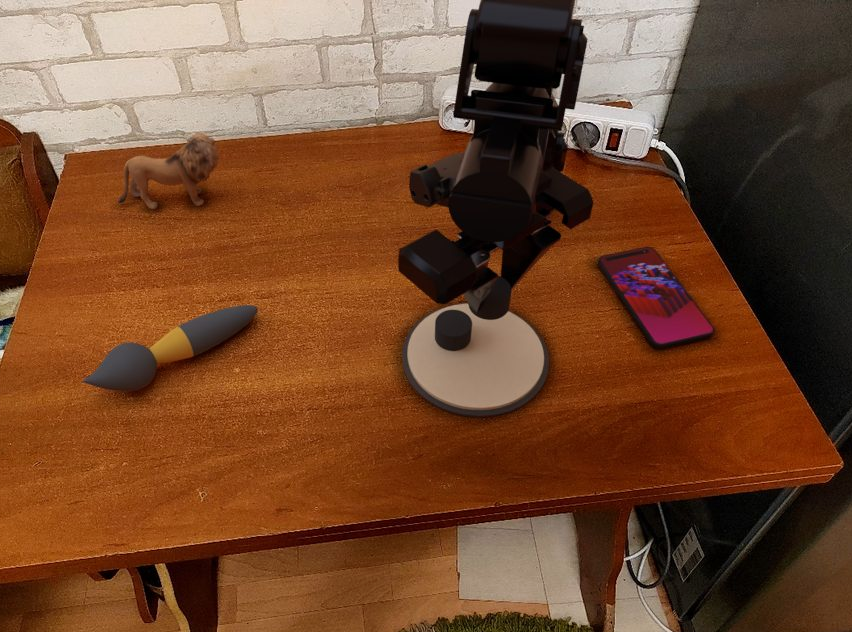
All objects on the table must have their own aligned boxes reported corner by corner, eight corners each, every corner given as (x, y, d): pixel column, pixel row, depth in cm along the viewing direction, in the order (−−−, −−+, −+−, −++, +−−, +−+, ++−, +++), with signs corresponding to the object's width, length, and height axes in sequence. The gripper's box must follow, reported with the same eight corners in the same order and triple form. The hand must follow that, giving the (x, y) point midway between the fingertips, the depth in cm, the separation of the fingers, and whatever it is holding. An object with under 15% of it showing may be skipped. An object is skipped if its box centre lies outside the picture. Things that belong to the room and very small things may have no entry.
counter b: (489, 285, 69) (491, 268, 68) (517, 307, 67) (520, 290, 66) (460, 303, 68) (461, 286, 66) (487, 326, 66) (490, 309, 64)
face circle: (478, 285, 82) (479, 279, 82) (579, 365, 74) (581, 359, 73) (372, 349, 76) (372, 344, 75) (470, 444, 68) (471, 439, 67)
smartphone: (655, 346, 74) (595, 256, 84) (653, 352, 75) (593, 261, 84) (719, 332, 76) (652, 244, 85) (716, 337, 76) (650, 250, 86)
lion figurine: (227, 180, 96) (213, 123, 90) (229, 203, 93) (214, 145, 86) (119, 195, 95) (97, 137, 88) (118, 219, 91) (94, 161, 84)
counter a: (454, 318, 78) (455, 304, 76) (478, 339, 75) (479, 324, 74) (427, 335, 76) (427, 320, 74) (451, 357, 74) (452, 342, 72)
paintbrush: (240, 299, 81) (232, 268, 77) (265, 321, 79) (258, 290, 75) (86, 392, 73) (68, 362, 69) (109, 420, 70) (91, 391, 66)
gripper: (518, 84, 63) (501, 219, 75) (354, 159, 55) (364, 296, 67) (613, 136, 57) (579, 274, 69) (444, 227, 50) (438, 364, 61)
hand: (490, 298), depth 67 cm, fingers closed on counter b, 4 cm apart
